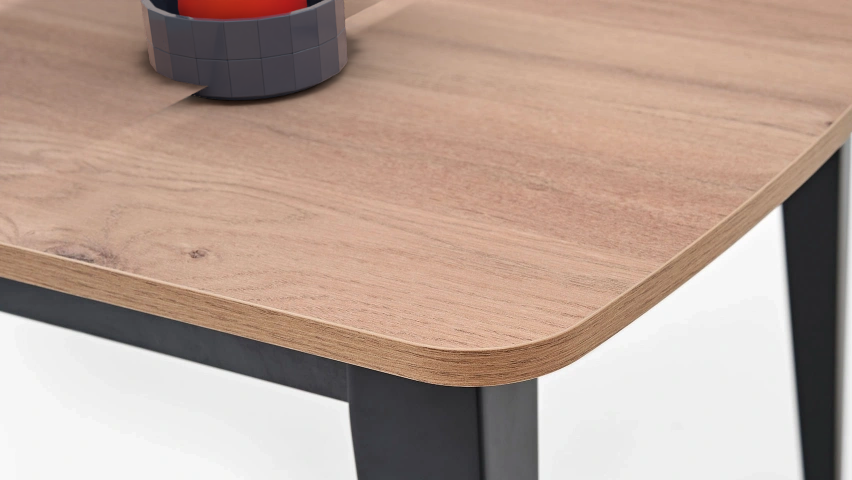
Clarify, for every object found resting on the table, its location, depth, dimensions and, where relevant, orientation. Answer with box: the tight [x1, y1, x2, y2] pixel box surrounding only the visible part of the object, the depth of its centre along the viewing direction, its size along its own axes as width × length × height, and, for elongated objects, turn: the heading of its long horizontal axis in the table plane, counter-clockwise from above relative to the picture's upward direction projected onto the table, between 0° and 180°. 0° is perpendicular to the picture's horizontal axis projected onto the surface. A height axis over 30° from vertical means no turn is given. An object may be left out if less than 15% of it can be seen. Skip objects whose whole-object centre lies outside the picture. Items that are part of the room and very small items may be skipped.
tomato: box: [178, 0, 307, 19], centre depth 88 cm, size 9×10×8 cm
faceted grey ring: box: [140, 0, 348, 101], centre depth 88 cm, size 14×14×6 cm
